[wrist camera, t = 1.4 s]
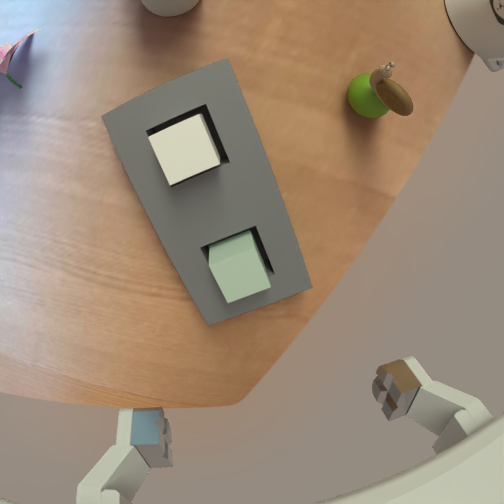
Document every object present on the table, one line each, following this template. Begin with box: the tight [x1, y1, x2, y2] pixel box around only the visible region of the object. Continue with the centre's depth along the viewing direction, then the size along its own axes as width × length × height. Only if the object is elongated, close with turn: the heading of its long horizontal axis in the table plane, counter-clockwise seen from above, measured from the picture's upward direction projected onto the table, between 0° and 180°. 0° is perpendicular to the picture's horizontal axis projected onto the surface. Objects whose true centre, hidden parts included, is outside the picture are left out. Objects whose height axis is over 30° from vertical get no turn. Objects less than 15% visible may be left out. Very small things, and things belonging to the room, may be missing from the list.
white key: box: [148, 114, 220, 185], centre depth 29 cm, size 5×5×5 cm
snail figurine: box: [347, 62, 413, 118], centre depth 28 cm, size 5×6×12 cm
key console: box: [101, 58, 313, 326], centre depth 35 cm, size 14×28×5 cm, turn 21°
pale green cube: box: [209, 230, 271, 303], centre depth 35 cm, size 5×5×5 cm
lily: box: [0, 29, 40, 89], centre depth 23 cm, size 12×12×10 cm
